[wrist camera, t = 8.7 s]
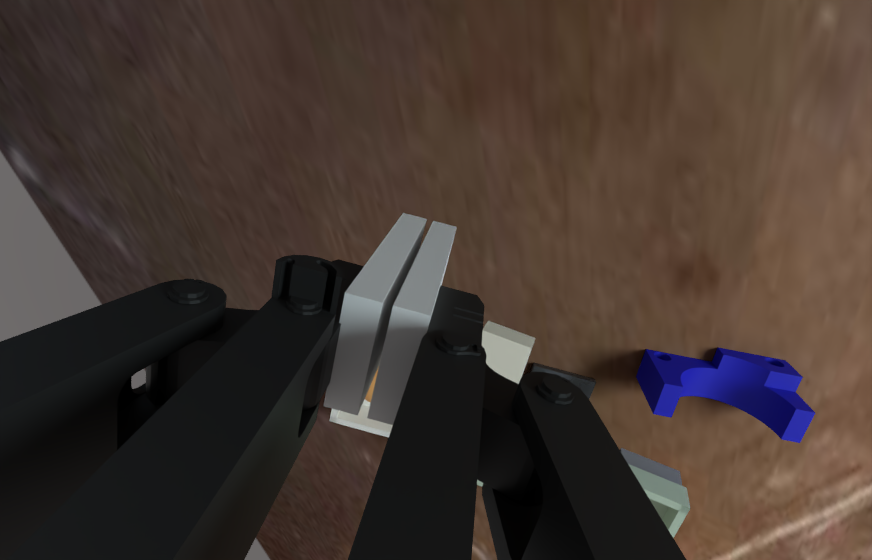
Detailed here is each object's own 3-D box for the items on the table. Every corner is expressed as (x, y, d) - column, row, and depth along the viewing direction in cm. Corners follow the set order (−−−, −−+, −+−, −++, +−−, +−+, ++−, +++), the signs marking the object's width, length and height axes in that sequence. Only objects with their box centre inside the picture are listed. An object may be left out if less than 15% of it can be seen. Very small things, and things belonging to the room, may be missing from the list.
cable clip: (784, 359, 46) (823, 397, 41) (764, 401, 48) (799, 442, 42) (650, 333, 47) (670, 367, 41) (635, 375, 49) (653, 413, 43)
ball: (398, 402, 51) (372, 384, 52) (406, 372, 49) (379, 355, 51) (375, 416, 48) (348, 397, 49) (382, 385, 46) (354, 366, 48)
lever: (446, 430, 50) (429, 463, 46) (485, 303, 45) (470, 325, 40) (653, 519, 46) (657, 565, 41) (723, 389, 41) (737, 425, 36)
